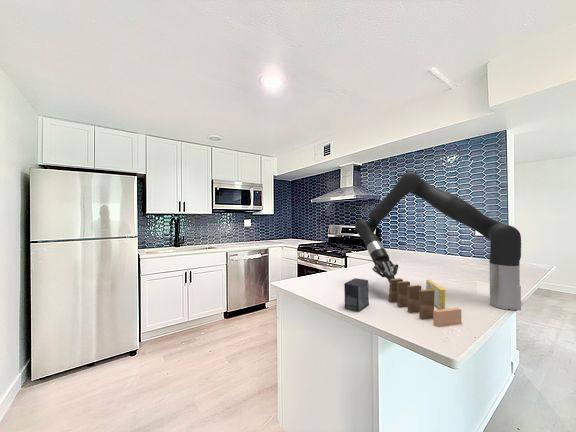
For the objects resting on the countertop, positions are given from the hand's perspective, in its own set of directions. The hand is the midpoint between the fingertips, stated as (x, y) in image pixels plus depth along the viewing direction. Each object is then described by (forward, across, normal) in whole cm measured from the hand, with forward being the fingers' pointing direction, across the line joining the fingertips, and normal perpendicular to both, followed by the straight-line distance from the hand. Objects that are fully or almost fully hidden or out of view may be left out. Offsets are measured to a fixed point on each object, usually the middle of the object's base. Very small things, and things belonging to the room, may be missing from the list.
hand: (394, 284), depth 106 cm
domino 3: (+14, 0, -3) cm, 14 cm away
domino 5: (+21, -2, -13) cm, 25 cm away
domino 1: (+5, 0, +5) cm, 7 cm away
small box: (+6, -19, +4) cm, 21 cm away
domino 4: (+18, 0, -8) cm, 20 cm away
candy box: (+10, +15, +1) cm, 18 cm away
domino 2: (+10, 0, +1) cm, 10 cm away
